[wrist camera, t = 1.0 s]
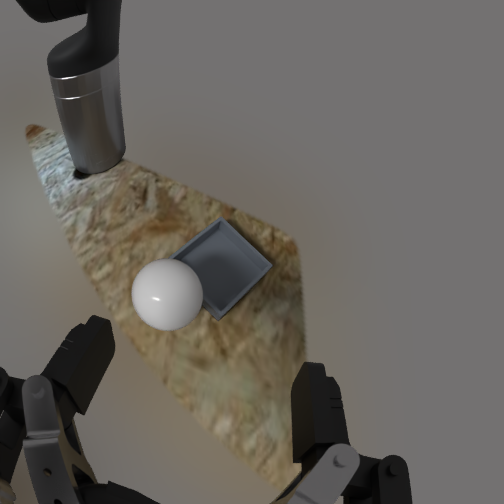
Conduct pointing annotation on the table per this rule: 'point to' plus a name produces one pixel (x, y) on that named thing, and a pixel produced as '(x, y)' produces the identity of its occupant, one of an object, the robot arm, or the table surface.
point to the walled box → (223, 265)
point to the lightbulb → (167, 294)
